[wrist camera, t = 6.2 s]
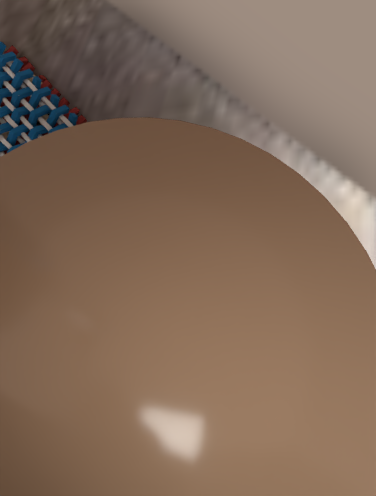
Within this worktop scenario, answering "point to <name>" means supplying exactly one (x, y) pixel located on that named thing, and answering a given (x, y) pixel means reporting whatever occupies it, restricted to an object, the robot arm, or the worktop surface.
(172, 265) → the canister
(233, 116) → the worktop surface
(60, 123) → the woven mat
